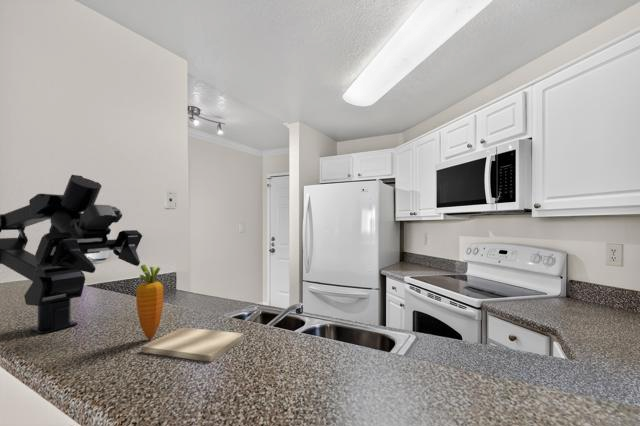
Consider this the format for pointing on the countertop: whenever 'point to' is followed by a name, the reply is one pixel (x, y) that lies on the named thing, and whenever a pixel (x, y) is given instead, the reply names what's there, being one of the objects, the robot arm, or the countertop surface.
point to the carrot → (149, 302)
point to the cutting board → (194, 344)
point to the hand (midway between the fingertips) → (117, 267)
